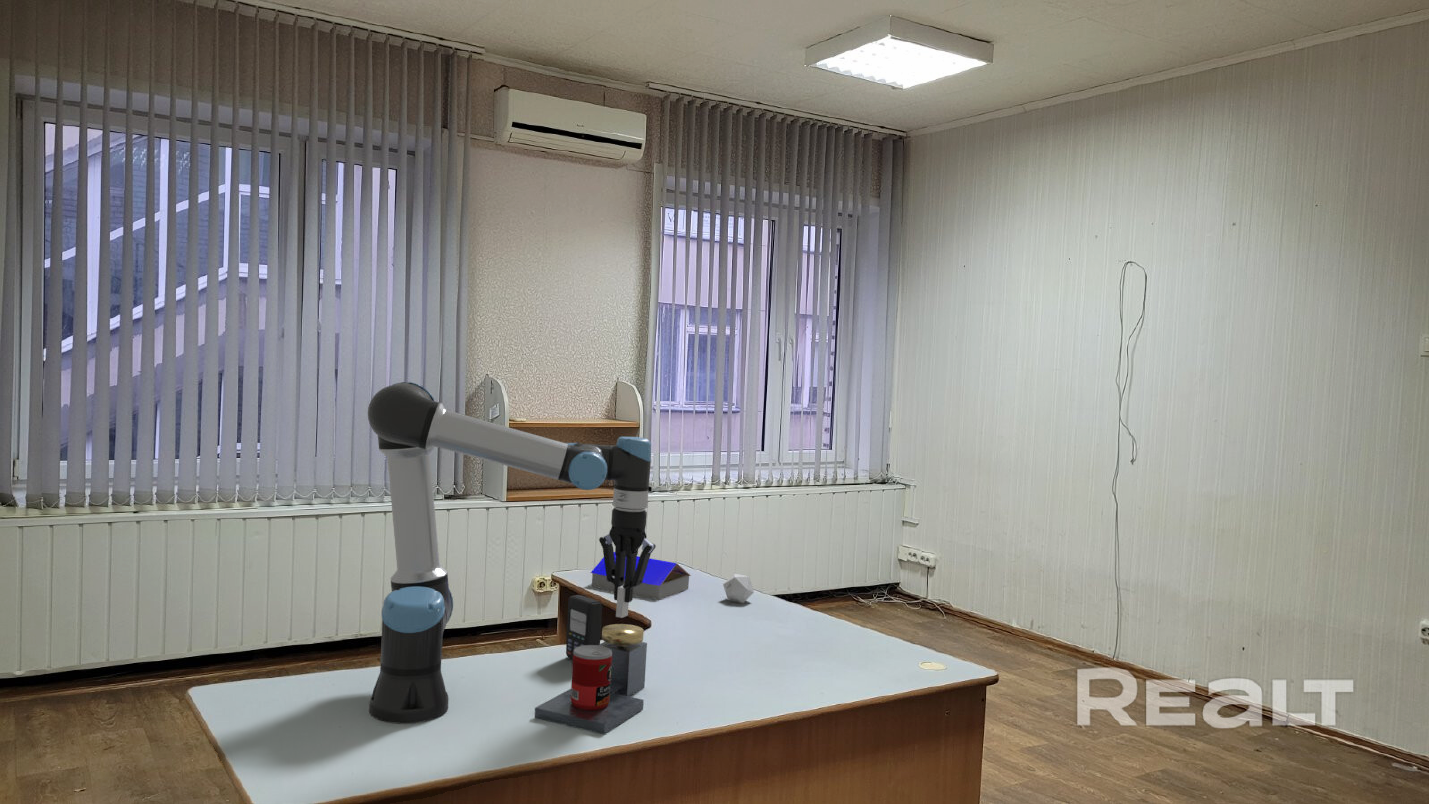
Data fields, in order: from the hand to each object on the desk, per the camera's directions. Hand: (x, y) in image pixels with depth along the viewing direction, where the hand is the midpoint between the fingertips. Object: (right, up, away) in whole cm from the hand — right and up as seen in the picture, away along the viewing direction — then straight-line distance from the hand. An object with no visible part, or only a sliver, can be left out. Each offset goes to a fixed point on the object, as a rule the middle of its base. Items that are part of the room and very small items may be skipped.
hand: (621, 615), depth 222 cm
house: (-3, -12, +94) cm, 95 cm away
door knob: (0, -13, +1) cm, 13 cm away
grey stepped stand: (-3, -17, -9) cm, 19 cm away
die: (+27, -14, +85) cm, 90 cm away
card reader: (-11, -15, +19) cm, 26 cm away
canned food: (-5, -15, -15) cm, 22 cm away
